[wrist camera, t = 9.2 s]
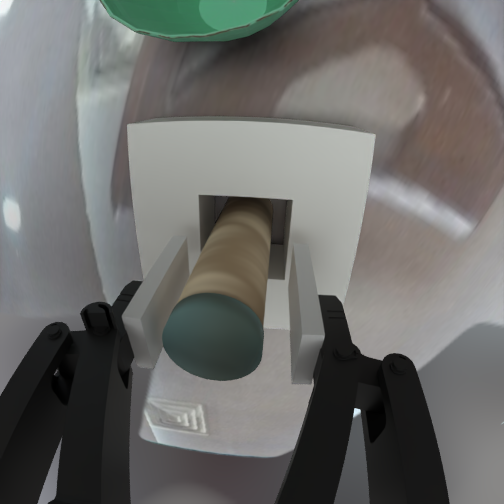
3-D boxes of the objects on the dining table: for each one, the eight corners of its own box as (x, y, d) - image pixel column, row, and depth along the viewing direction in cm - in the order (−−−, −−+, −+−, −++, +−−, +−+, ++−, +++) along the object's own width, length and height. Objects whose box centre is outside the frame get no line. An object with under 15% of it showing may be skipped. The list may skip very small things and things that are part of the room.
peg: (224, 231, 24) (169, 373, 11) (224, 185, 22) (154, 304, 10) (272, 234, 24) (259, 385, 11) (275, 188, 22) (265, 316, 9)
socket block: (169, 280, 26) (150, 316, 22) (157, 117, 20) (127, 124, 15) (327, 292, 26) (336, 331, 21) (353, 126, 19) (375, 134, 15)
